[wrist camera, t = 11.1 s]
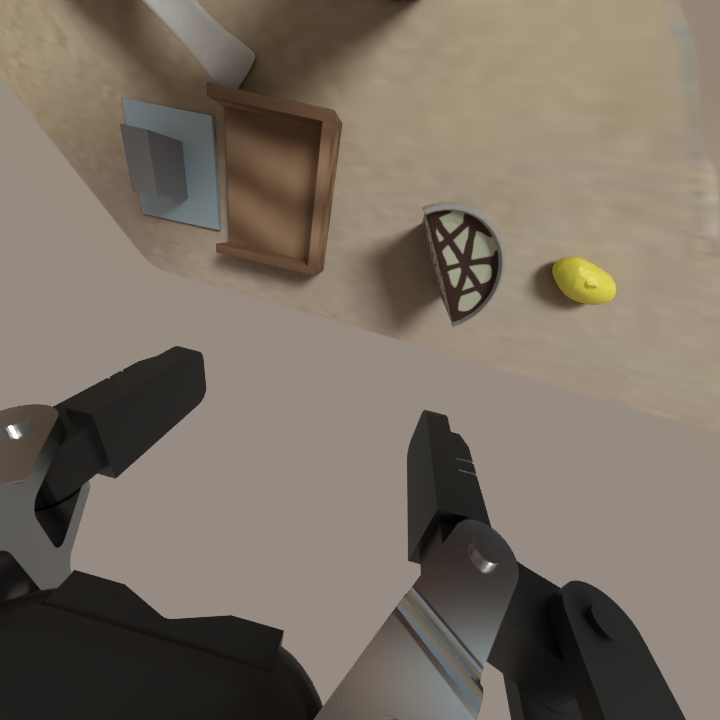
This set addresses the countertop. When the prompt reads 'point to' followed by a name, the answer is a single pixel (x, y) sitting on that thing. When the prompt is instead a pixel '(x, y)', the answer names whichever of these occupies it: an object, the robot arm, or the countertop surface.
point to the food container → (463, 258)
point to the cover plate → (194, 162)
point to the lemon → (583, 281)
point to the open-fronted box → (278, 178)
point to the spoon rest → (206, 40)
